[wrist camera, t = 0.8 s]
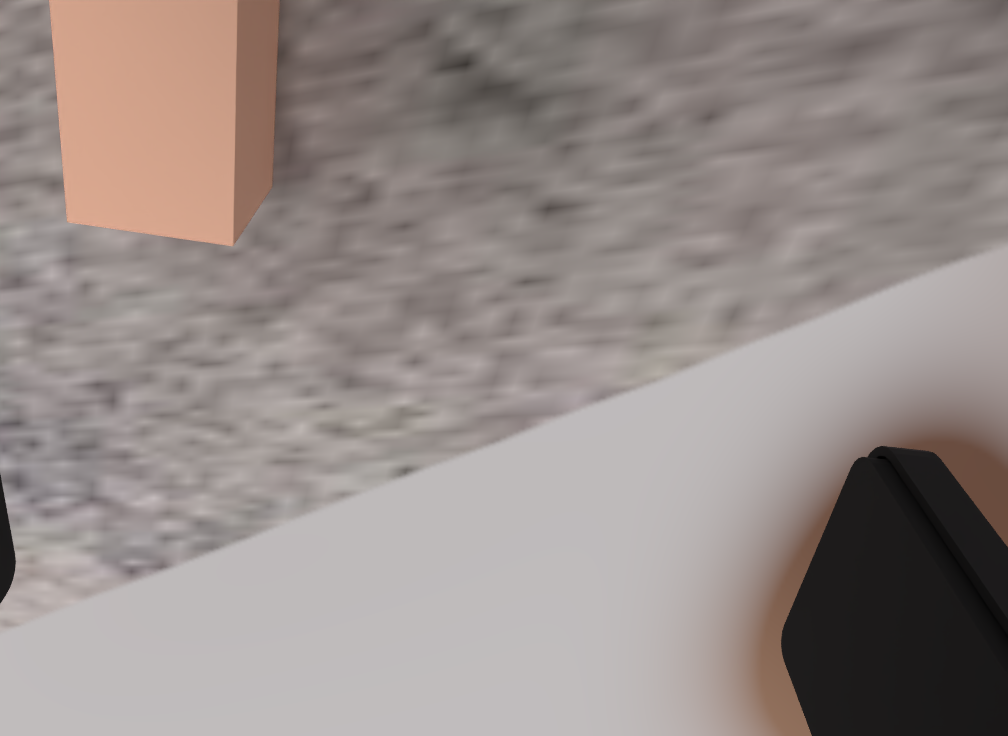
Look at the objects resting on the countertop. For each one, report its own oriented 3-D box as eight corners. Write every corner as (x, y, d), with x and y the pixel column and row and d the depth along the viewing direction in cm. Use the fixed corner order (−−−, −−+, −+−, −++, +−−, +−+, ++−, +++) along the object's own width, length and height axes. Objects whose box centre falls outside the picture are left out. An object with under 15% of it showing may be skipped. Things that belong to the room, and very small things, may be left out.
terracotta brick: (123, -112, 28) (40, -108, 22) (283, -82, 28) (238, -72, 23) (134, 164, 32) (67, 221, 27) (272, 186, 32) (233, 246, 27)
